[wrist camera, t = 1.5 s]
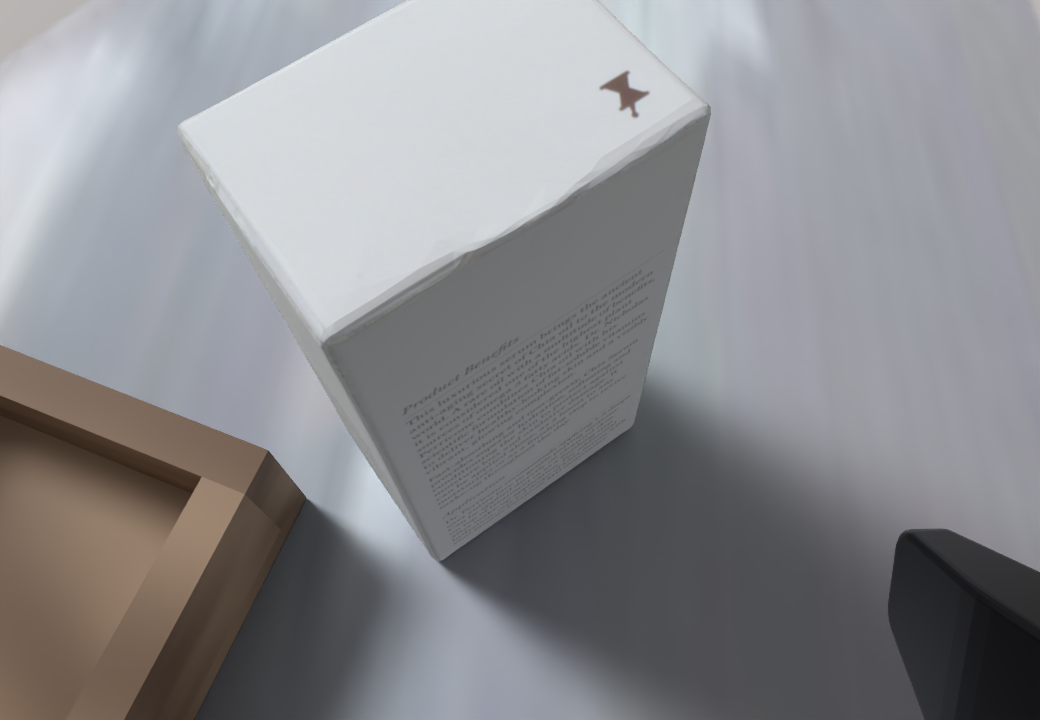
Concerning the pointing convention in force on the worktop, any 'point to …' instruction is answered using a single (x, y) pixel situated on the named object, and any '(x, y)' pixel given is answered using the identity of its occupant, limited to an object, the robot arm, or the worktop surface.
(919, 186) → the worktop surface
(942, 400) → the worktop surface
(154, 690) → the walnut holder
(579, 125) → the skincare box
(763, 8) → the worktop surface
